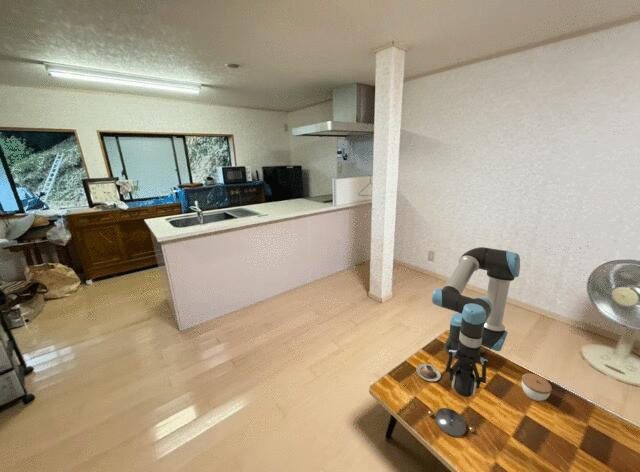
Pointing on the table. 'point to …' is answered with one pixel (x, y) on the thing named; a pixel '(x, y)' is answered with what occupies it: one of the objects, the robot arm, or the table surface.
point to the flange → (451, 422)
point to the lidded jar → (536, 387)
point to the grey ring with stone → (428, 372)
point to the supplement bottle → (464, 380)
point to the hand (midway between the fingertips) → (462, 389)
